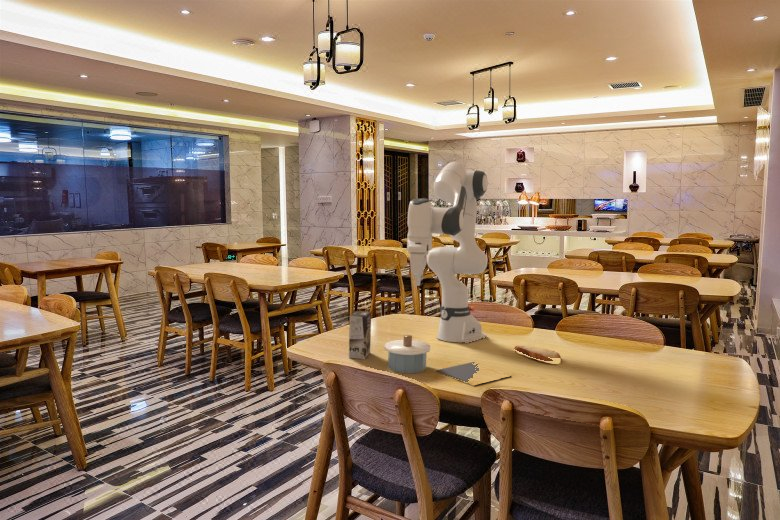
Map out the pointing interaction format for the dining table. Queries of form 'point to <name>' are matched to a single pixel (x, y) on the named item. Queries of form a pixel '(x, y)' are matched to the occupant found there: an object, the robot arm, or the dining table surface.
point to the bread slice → (538, 352)
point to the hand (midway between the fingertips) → (418, 282)
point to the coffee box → (360, 334)
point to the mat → (461, 371)
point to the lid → (407, 346)
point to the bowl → (406, 363)
